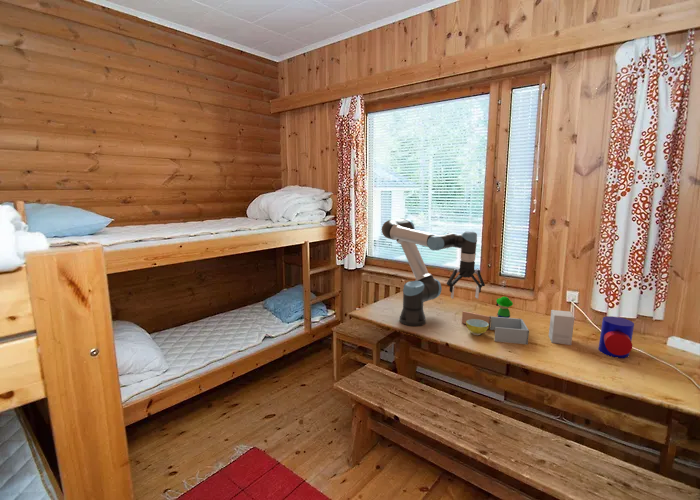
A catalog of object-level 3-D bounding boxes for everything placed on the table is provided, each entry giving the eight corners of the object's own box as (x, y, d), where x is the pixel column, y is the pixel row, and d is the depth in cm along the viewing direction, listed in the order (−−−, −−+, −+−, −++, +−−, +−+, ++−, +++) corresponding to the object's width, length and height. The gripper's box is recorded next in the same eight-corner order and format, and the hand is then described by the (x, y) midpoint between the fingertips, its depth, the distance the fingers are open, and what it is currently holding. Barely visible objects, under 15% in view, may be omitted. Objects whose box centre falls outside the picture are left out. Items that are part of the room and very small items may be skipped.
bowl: (471, 327, 201) (472, 317, 200) (491, 333, 193) (492, 322, 192) (461, 333, 194) (462, 322, 192) (481, 340, 186) (482, 328, 184)
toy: (508, 318, 214) (510, 294, 212) (513, 324, 206) (515, 299, 203) (493, 317, 215) (494, 294, 212) (497, 323, 207) (499, 298, 204)
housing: (494, 341, 184) (495, 327, 183) (490, 329, 199) (491, 316, 198) (527, 344, 181) (529, 330, 179) (520, 331, 196) (522, 318, 194)
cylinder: (632, 364, 161) (637, 331, 158) (600, 357, 167) (604, 325, 164) (625, 346, 178) (630, 316, 175) (596, 341, 184) (601, 312, 181)
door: (462, 322, 209) (463, 310, 207) (490, 328, 200) (491, 315, 199) (461, 323, 207) (462, 311, 206) (489, 329, 199) (490, 316, 197)
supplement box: (567, 338, 188) (570, 311, 185) (571, 345, 180) (575, 317, 177) (548, 335, 191) (551, 309, 188) (551, 342, 182) (554, 315, 180)
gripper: (446, 261, 188) (443, 299, 192) (493, 262, 188) (489, 300, 192) (442, 258, 195) (440, 295, 200) (488, 259, 195) (484, 295, 200)
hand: (464, 297), depth 196 cm, fingers open, 13 cm apart
